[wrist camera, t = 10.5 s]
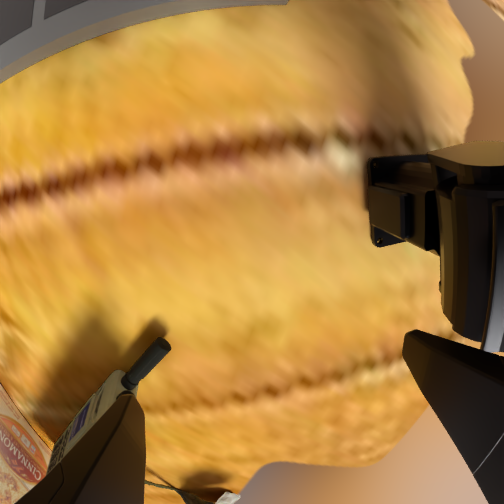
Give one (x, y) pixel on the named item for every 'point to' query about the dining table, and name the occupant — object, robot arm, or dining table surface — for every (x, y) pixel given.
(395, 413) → the dining table surface
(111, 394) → the handheld radio
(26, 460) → the coffeecake box
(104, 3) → the power strip
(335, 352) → the dining table surface
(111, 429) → the robot arm
